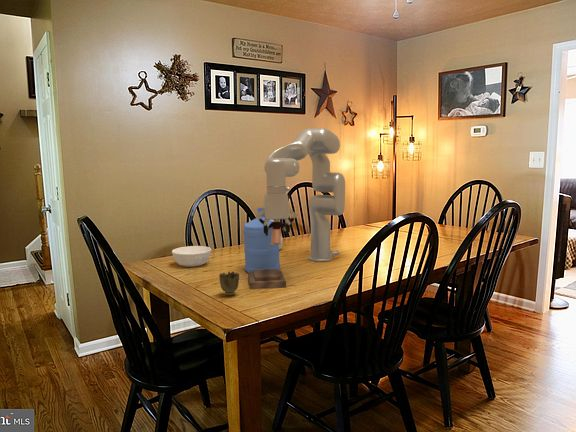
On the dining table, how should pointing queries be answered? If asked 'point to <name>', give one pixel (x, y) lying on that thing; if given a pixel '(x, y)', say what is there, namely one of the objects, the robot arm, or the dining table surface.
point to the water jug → (259, 246)
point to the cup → (229, 283)
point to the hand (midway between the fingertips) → (276, 234)
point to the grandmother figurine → (276, 232)
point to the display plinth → (267, 283)
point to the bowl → (191, 255)
